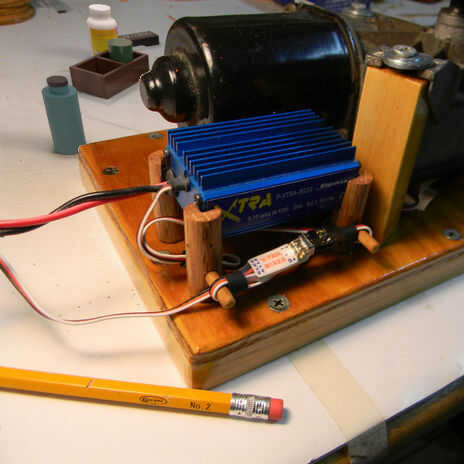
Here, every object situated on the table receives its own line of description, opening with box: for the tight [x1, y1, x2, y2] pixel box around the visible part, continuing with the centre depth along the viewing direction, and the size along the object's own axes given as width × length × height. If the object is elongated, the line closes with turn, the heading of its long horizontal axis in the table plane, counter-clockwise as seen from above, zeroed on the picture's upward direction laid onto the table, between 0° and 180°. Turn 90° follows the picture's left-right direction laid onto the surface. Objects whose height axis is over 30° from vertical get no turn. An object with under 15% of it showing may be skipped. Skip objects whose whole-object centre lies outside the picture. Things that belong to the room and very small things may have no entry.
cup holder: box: [68, 49, 151, 100], centre depth 107 cm, size 9×16×6 cm, turn 162°
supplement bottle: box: [86, 3, 119, 57], centre depth 114 cm, size 7×7×13 cm
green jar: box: [107, 38, 134, 64], centre depth 109 cm, size 5×5×8 cm
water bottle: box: [41, 74, 87, 156], centre depth 83 cm, size 5×5×13 cm
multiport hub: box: [118, 30, 160, 48], centre depth 129 cm, size 4×11×2 cm, turn 140°
